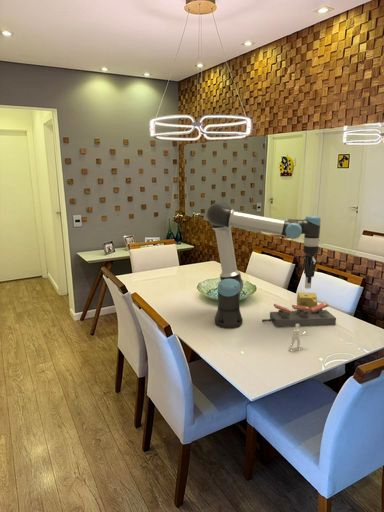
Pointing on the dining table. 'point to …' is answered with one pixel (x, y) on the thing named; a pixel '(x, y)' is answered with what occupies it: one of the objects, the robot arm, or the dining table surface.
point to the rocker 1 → (282, 308)
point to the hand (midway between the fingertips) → (307, 288)
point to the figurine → (296, 338)
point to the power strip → (301, 318)
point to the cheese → (307, 299)
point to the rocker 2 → (301, 307)
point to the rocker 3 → (319, 307)
